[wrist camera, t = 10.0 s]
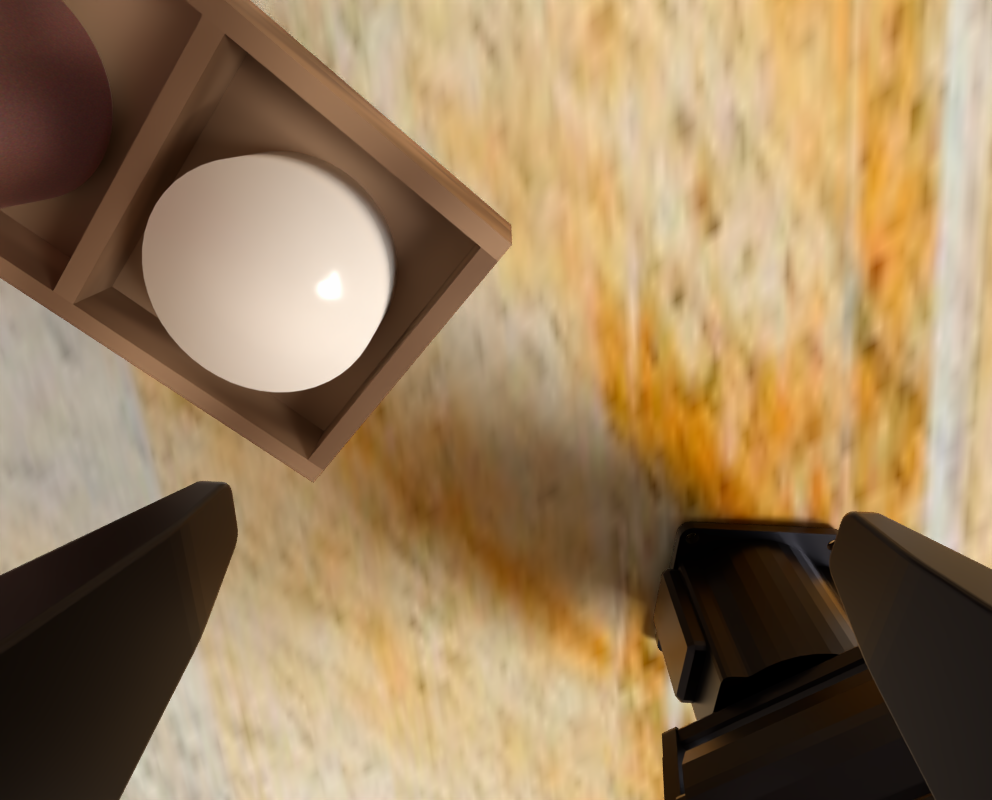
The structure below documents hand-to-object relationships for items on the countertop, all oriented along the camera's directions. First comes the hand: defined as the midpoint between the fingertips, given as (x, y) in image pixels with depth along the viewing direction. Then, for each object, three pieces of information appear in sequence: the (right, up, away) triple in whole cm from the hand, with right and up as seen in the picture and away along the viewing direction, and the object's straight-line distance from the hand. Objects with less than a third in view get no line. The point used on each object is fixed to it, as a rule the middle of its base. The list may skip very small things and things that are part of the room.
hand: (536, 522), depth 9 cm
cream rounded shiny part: (-7, +6, +10) cm, 14 cm away
